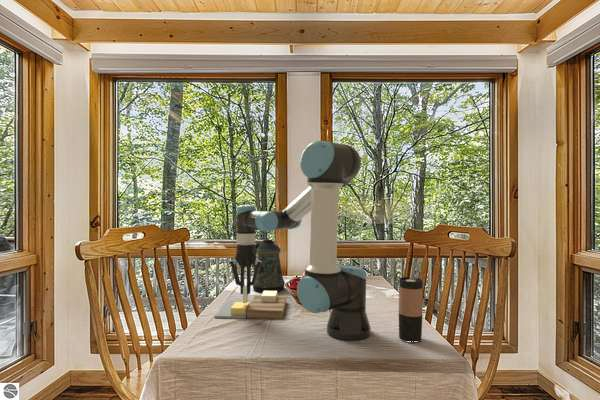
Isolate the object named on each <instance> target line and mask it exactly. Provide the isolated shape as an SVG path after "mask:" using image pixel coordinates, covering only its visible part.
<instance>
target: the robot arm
mask: <svg viewBox="0 0 600 400" xmlns="http://www.w3.org/2000/svg"><path fill="white" fill-rule="evenodd" d="M299 162H300V163H299V164H300V170H301V171H302V174H303V175H304V176H305V177H306V179H307V181H306V182H307V185H308V187H307V188H306V189H305V190H304V191H302V193H300V194H299V196H297V197H296V198H295V199H294V200H293V201H292V202H291V203H290V204H288V205H287V206H286V207H285V208H284V209H283V210H261V211H260V210H257V208H256V206H255V205H247V204H246V205H238V206H237V207H236V208H237V209H236V215H235V216H236V243H237V244H236V249H235V250H236V253H235V254H236V255H235V257H234V258H233V259H231V260H230V261H229V264H230V267H231V268H232V271H233V278H234V281H235V285H237V286H239V288H240V295H242V300H243V303H247V302H248V300H249V295H250V294H251V286H253V285H254V284H255V281H256V277H257V273H258V269H259V266H260V264H261V263H262V261H259V260H258V259H257V254H256V255H255V245H256V244H255V243H256V231H260V232H272V231H276V230H277V231H278V230H293V229H297V228H299V227H300V226H301V223H302V221H303V218H304V217H305V216H306V215H308V214H310V247H309V249H310V250H309V263H308V264H307V265H306V266H305V268H304V276H303V277H301V278H300V279H299V281H298V282H297V286H296V293H297V297H298V300H299V302H300V303H301V305H302V307H303V308H304V309H305V310H306V311H308V312H310V313H312V314H319V313H327V312H328V311H330V315H329V318H328V320H327V324H326V333H327V335H329V336H330V337H332V338H334V339H338V340H344V341H361V340H365V339H367V338H369V337H370V336H371V333H372V332H371V324H370V322H369V318H368V315H367V311H366V309H367V307H366V306H367V305H366V304H367V296H366V295H367V273H366V272H367V271H366V270H365V269H364V268H362V267H358V266H351V265H344V264H343V265H341V264H337V262H338V261H337V260H338V224H339V223H338V221H339V217H338V216H339V193H340V191H339V190H340V189H341V188H345V187H347V185H349V184H350V183H351V182H352V181H353V180H354V179H355V178H356V177H357V176H358V174H359V173H360V170H361V167H362V159H361V155H360V154H359V152H358V150H356V149H355V148H354V147H353V146H351V145H350V144H349V145H348V144H342V143H337V142H333V141H327V140H315V141H313V142H311V143H309V144H308V145H307V146H306V147H305V148H304V150H303V152H302V153H301V156H300V161H299ZM254 262H256V263H255V265H256V267H255V269H254V271H253V275H251V274H252V273H251V272H252V267H253V265H252V264H253V263H254ZM237 264H238V265H239V267H240V268H239V269H240V276H239V271H238V267H237ZM245 268H246V285H245Z"/></svg>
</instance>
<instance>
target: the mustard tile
mask: <svg viewBox="0 0 600 400" xmlns="http://www.w3.org/2000/svg"><path fill="white" fill-rule="evenodd" d="M249 305H250V302H247V303H243V302H235V303H234V304H233V306H232V307H231V315H246V314H247V309H248V307H249Z"/></svg>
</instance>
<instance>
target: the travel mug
mask: <svg viewBox="0 0 600 400" xmlns="http://www.w3.org/2000/svg"><path fill="white" fill-rule="evenodd" d="M398 282H399V283H398V335H399V336H398V338H400V339H402V340H405V341H411V342H412V341H413V342H414V341H420V340H421V341H422V335H423V334H422V332H423V302H424V301H423V286H424V285H423V279H422V278H419V277H417V278H411V277H409V276H402V277H399V280H398ZM400 339H399V340H400Z"/></svg>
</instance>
